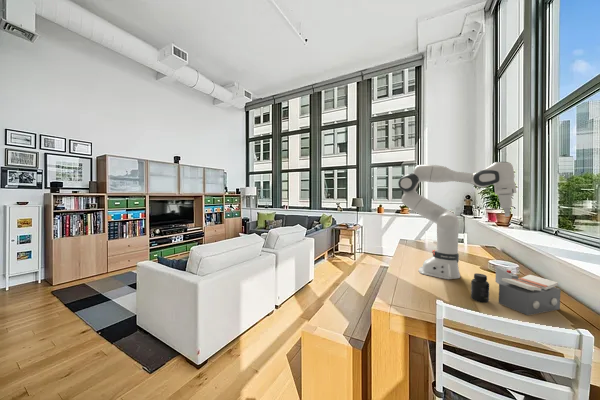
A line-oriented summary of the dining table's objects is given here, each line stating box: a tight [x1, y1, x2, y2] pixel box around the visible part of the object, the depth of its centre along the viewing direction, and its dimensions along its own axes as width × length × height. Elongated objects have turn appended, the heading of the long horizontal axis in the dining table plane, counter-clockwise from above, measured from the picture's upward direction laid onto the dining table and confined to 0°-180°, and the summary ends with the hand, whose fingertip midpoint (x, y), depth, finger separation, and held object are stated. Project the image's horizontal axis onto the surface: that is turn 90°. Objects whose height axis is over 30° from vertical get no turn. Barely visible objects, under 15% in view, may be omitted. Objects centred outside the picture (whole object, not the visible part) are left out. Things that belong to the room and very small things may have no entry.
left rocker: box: [502, 278, 542, 291], centre depth 102 cm, size 8×10×2 cm
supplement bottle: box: [470, 273, 490, 304], centre depth 109 cm, size 7×7×12 cm
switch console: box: [498, 283, 562, 316], centre depth 103 cm, size 20×12×9 cm, turn 105°
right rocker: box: [518, 274, 559, 290], centre depth 105 cm, size 8×10×2 cm
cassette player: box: [495, 265, 519, 285], centre depth 124 cm, size 16×3×10 cm, turn 163°
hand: (508, 215), depth 126 cm, fingers open, 8 cm apart
